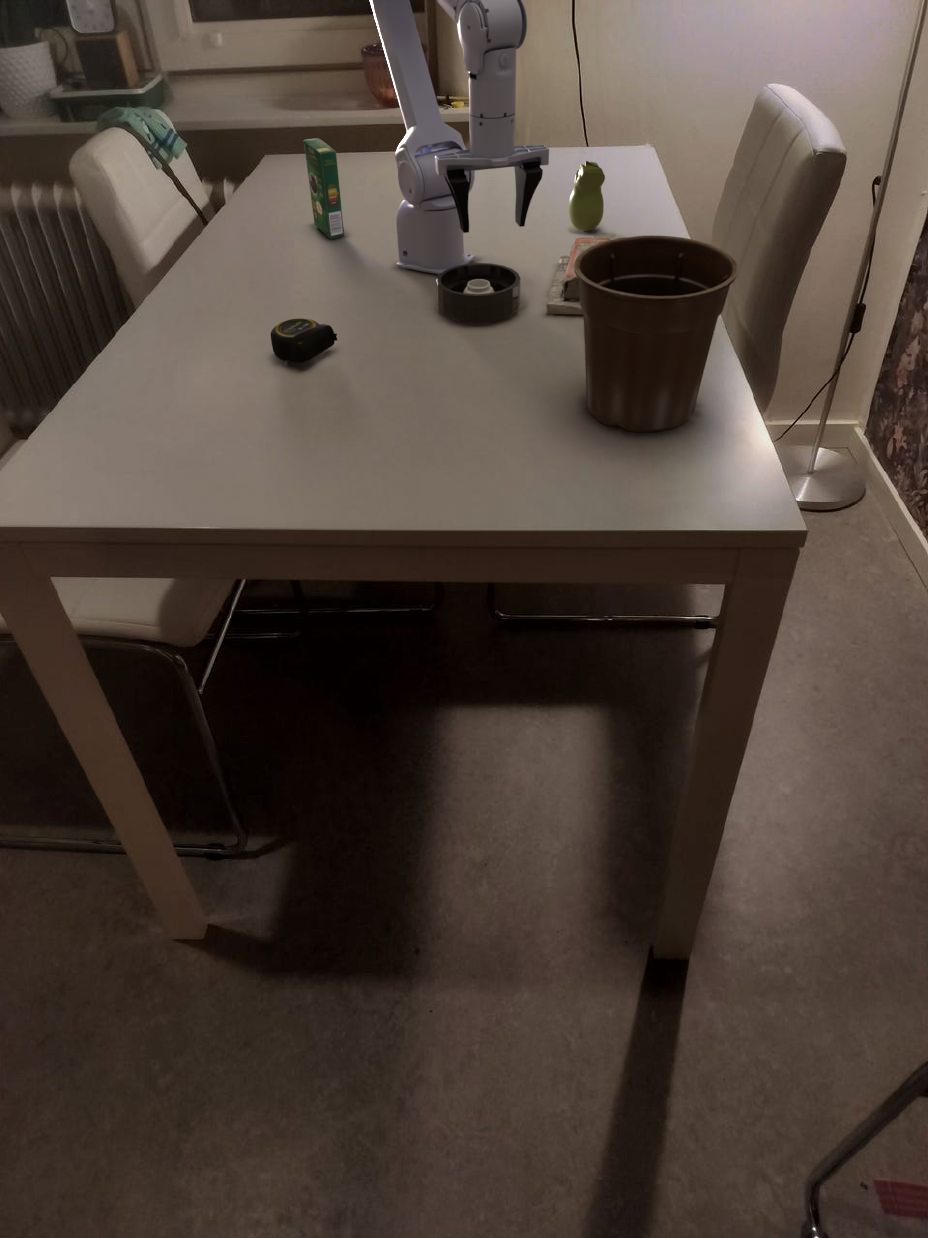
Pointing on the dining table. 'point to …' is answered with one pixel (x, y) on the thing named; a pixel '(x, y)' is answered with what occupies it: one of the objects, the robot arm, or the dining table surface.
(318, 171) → the coffee box
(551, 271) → the dining table surface
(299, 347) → the tape measure
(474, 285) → the white jar
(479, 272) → the bowl
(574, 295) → the packaged product
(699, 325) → the plant pot
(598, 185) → the pear
